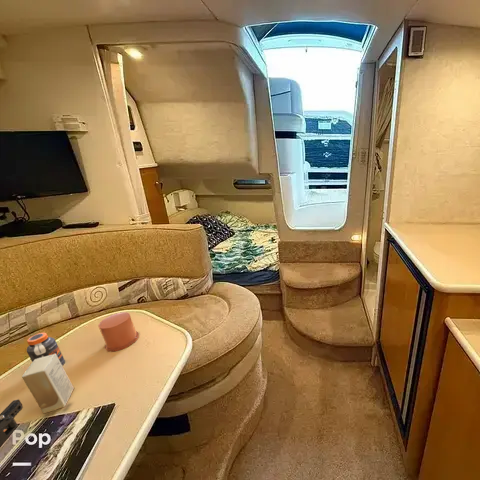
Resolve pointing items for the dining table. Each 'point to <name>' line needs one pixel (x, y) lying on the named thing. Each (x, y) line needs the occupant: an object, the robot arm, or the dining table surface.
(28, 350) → the pill bottle
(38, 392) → the cosmetic box
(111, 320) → the upturned cup
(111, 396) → the dining table surface
